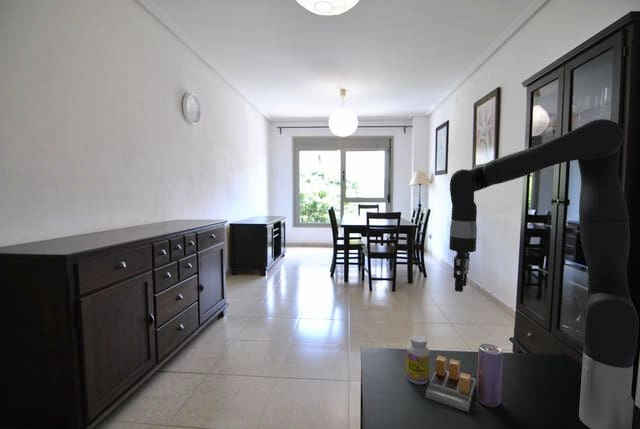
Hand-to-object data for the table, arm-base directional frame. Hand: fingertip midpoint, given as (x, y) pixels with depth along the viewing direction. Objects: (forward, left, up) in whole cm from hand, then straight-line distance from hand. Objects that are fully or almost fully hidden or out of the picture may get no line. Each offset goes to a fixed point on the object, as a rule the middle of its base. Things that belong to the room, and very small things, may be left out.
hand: (460, 288), depth 101 cm
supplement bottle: (+10, +10, -28) cm, 31 cm away
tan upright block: (-4, +13, -25) cm, 29 cm away
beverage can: (-10, +10, -28) cm, 31 cm away
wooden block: (+4, +6, -25) cm, 27 cm away
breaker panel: (0, +11, -28) cm, 30 cm away
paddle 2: (0, +6, -25) cm, 26 cm away
